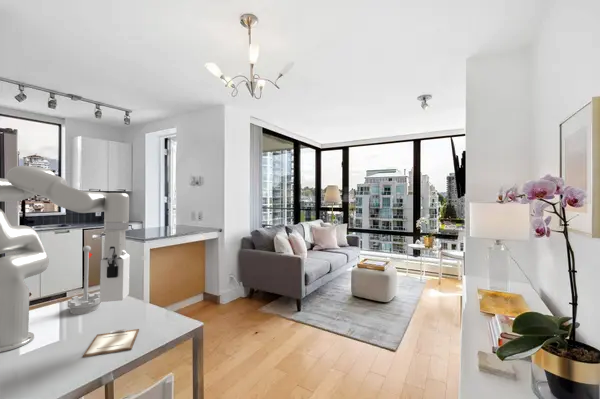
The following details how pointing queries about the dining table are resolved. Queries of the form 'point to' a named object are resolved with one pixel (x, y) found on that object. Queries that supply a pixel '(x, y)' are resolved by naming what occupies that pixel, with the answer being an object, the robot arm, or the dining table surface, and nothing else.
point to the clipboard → (112, 342)
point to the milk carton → (115, 280)
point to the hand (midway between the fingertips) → (115, 274)
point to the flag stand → (85, 293)
